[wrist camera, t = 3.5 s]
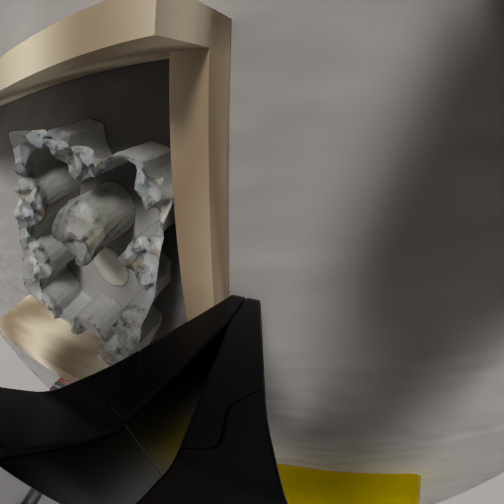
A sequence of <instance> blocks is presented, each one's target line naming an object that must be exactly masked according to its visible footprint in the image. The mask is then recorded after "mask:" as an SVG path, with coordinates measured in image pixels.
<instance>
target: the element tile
mask: <svg viewBox="0 0 504 504" xmlns="http://www.w3.org/2000/svg"><path fill="white" fill-rule="evenodd" d="M277 467H278V471H279V475H280V479H281V483H282V487H283V490H284V494H285V497H286V500H287V502H288V504H419V498H420V483H421V476H419V475H417V474H365V473H347V472H335V471H324V470H316V469H308V468H301V467H294V466H288V465H282V464H277Z"/></svg>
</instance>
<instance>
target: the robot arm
mask: <svg viewBox="0 0 504 504" xmlns="http://www.w3.org/2000/svg"><path fill="white" fill-rule="evenodd" d="M0 504H288V502H287V500H286V497H285V494H284V490H283V487H282V483H281V479H280V475H279V471H278V467H277V462H276V458H275V454H274V449H273V445H272V441H271V436H270V431H269V425H268V420H267V410H266V398H265V380H264V361H263V341H262V322H261V304H260V301H259V300H255V299H250V298H247V299H245V298H244V297H241V296H236V295H231V296H229V297H228V298H226V299H224V300H223V301H221V302H219V303H218V304H216V305H214V306H213V307H211V308H210V309H208V310H206V311H205V312H203V313H201V314H200V315H198V316H196V317H195V318H193V319H191V320H190V321H188V322H186V323H185V324H183V325H181V326H180V327H178V328H176V329H174V330H173V331H171V332H169V333H168V334H166V335H164V336H163V337H161V338H159V339H158V340H156V341H154V342H152V343H151V344H149V345H147V346H146V347H144V348H142V349H141V351H137V352H135V353H133V354H132V355H130V356H128V357H126V358H124V359H123V360H121V361H119V362H117V363H115V364H113V365H111V366H109V367H107V368H105V369H103V370H101V371H98V372H96V373H94V374H92V375H89V376H87V377H85V378H82V379H80V380H78V381H75V382H73V383H70V384H68V385H66V386H63V387H61V388H58V389H55V390H51V391H45V392H33V391H24V390H16V389H9V388H2V387H0Z"/></svg>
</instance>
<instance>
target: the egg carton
mask: <svg viewBox="0 0 504 504" xmlns="http://www.w3.org/2000/svg"><path fill="white" fill-rule="evenodd" d="M104 134H105V132H104V125H103V124H102V123H101V122H97V121H94V120H92V119H86V120H83V121H80V122H74V123H71V124H69V125H65V126H61V127H56V128H52V129H50V130H48V131H47V132H46V130H43V129H41V130H32V131H30V130H23V131H13V132H9V139H10V142H11V145H12V148H13V152H14V157H15V168H14V170H15V172H16V173H17V174H18V175H19V183H18V187H17V188H16V190H15V193H16V194H17V195H18V196H19V197H20V200H19V202H18V204H17V206H16V208H15V210H14V216H15V218H16V219H17V221H18V223H19V230H20V243H21V246H22V248H23V256H24V260H23V280H24V284H25V287H26V289H27V290H28V291H29V293H30V294H31V295H32V296H33V297H34V298H35V299H36V300H37V301H38V302H39V303H40V304H43V305H45V306H46V307H47V308H48V309H49V310H50V311H51V312H52V313H53V317H54V319H57V318H62V319H64V320H65V321H67V322H68V323H69V324H70V325H71V327H72V329H71V332H72V333H73V334H76V335H78V334H82V333H83V332H84V331H86V330H88V331H90V332H91V333H93V334H94V335H96V336H97V337H99V338H101V340H102V342H101V343H100V344H99V345H100V348H99V349H98V351H97V357H98V358H99V360H100V361H101V362H102V363H103V364H105V365H106V366H107V367H109V366H111V365H113V364H115V363H117V362H119V361H121V360H123V359H124V358H126V357H128V356H129V354H130V353H131V352H137V351H141V349H142V348H144V347H146V346H147V345H149V344H150V342H151V341H152V339H153V338H154V336H155V334H156V331H157V330H158V328H159V327H160V325H161V323H162V316H163V314H162V313H161V312H160V311H159V310H157V308H156V307H155V306H154V305H153V304H152V303H153V302H154V301H155V299H156V297H157V296H158V295H159V293H160V292H161V291H163V288H164V287H165V286H166V285H167V284H168V283H169V281H170V279H171V260H170V259H169V258H168V257H167V256H166V255H165V254H164V252H163V251H162V250H161V247H162V243H163V239H164V234H163V231H164V230H166V229H167V228H168V227H169V226H170V225H172V224H174V222H175V212H174V199H173V185H172V168H171V148H169V147H167V146H165V145H162V144H159V143H157V142H154V141H149V142H147V143H143V144H141V145H138V146H135V147H131V148H128V149H126V150H123V151H119V152H117V153H115V154H113V153H112V152H111V150H110V148H109V147H108V145H107V142H106V139H105V135H104ZM127 162H132V163H133V164H135V166H136V169H137V174H136V180H135V187H134V189H135V191H136V192H137V193H138V195H139V196H140V197H141V198H142V201H143V206H144V209H145V210H146V209H149V208H152V207H156V208H158V209H159V210H160V216H159V220H158V221H157V222H156V223H154V224H153V225H151V226H150V227H149V228H147V229H146V230H145V231H143V232H142V233H141V234H139V235H138V236H137V237H135V238H134V239H133V240H132V241H131V242H130V243H129V245H128V246H127V248H126V250H125V251H124V252H123V253H122V254H121V255H119V254H118V253H117V252H116V251H114V250H113V249H111V248H109V247H107V246H108V245H109V244H110V243H112V242H113V241H114V240H116V239H117V238H118V237H120V236H121V235H122V234H123V233H125V232H126V231H127V230H129V229H130V228H131V226H132V225H133V224H134V221H135V216H136V215H135V206H134V203H133V200H132V198H131V196H130V194H129V193H128V191H127V190H126V189H124V188H123V187H122V186H121V185H120V184H119V183H115V182H106V183H104V184H101V185H99V186H97V187H95V188H93V189H91V190H89V191H87V192H85V193H83V194H81V195H80V196H79V193H80V183H83V182H85V181H86V180H88V179H90V178H91V177H93V178H94V177H96V176H97V175H99V174H101V173H103V172H106V171H109V170H111V169H113V168H115V167H118V166H120V165H122V164H125V163H127ZM73 258H75V261H76V264H77V265H79V266H81V267H82V266H85V265H88V264H89V263H90V262H91V261H92V260H94V264H95V267H96V269H97V271H98V272H99V274H100V275H101V276H102V278H103V279H104V280H105V281H107V282H108V283H110V284H112V285H113V286H123V285H124V284H126V283H127V281H128V278H129V277H128V269H127V267H128V268H130V269H132V270H133V271H134V272H135V276H136V278H137V280H138V282H139V284H140V285H141V286H142V287H143V288H142V289H141V290H140V291H139V293H138V294H137V295H136V296H135V297H134V298H133V299H132V301H131V302H130V303H129V304H128V305H127V306H126V307H125V308H124V309H123V310H122V308H121V307H120V306H119V304H118V303H117V302H116V301H115V300H113V299H112V298H111V297H109V296H107V295H104V294H98V295H97V296H96V297H95V298H93V299H91V298H90V297H89V296H88V295H86V294H85V293H84V292H83V291H82V288H81V286H80V284H79V282H78V280H77V278H76V277H75V276H74V274H73V273H72V272H71V271H69V269H68V268H67V263H68V262H69V261H71V260H72V259H73Z"/></svg>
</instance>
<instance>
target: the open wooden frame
mask: <svg viewBox="0 0 504 504" xmlns="http://www.w3.org/2000/svg"><path fill="white" fill-rule="evenodd" d="M230 46H231V19H230V18H229V17H227V16H225V15H223V14H222V13H220V12H218V11H216V10H214V9H212V8H210V7H208V6H207V5H205V4H203V3H201V2H199V1H197V0H105V1H103V2H100V3H98V4H95V5H93V6H91V7H88V8H86V9H84V10H82V11H79V12H77V13H75V14H73V15H71V16H69V17H67V18H65V19H63V20H61V21H59V22H57V23H55V24H53V25H51V26H49V27H48V28H46V29H44V30H42V31H41V32H39V33H37V34H35V35H34V36H32V37H30V38H29V39H27V40H25V41H24V42H22V43H21V44H19V45H18V46H16V47H14V48H13V49H11V50H10V51H8V52H7V53H6V54H4V55H3V56H1V57H0V106H2V105H5V104H7V103H9V102H11V101H14V100H16V99H19V98H21V97H24V96H26V95H29V94H31V93H34V92H37V91H39V90H42V89H45V88H48V87H51V86H54V85H57V84H60V83H63V82H66V81H69V80H73V79H76V78H79V77H83V76H87V75H90V74H94V73H98V72H102V71H106V70H111V69H115V68H120V67H124V66H129V65H135V64H140V63H146V62H152V61H158V60H165V59H169V116H170V147H171V168H172V185H173V199H174V212H175V224H176V235H177V245H178V255H179V264H180V272H181V281H182V289H183V297H184V304H185V311H186V318H187V322H188V321H190V320H191V319H193V318H195V317H196V316H198V315H200V314H201V313H203V312H205V311H206V310H208V309H210V308H211V307H213V306H214V305H216V304H218V303H219V302H221V301H223V300H224V299H226V298H228V297H229V262H228V135H229V80H230ZM71 329H72V327H71V325H70V324H69V323H68V322H67V321H65V320H64V319H62V318H57V319H54V317H53V313H52V312H51V311H50V310H49V309H48V308H47V307H46V306H45V305H43V304H40V303H39V302H38V301H37V300H36V299H35V298H34V297H33V296H32V295H31V294H29V295H27V296H26V297H25V298H24V299H23V300H22V301H20V302H19V303H18V304H17V305H16V306H15V307H14V308H13V309H11V310H10V311H9V312H8V313H7V314H6V315H5V316H4V317H3V318H2V319H1V320H0V330H1V332H2V334H3V335H4V336H5V337H6V338H8V339H9V340H10V341H11V342H13V343H14V344H15V345H16V346H18V347H19V348H20V349H22V350H23V351H24V352H26V353H27V354H28V355H30V356H31V357H33V358H34V359H35V360H37V361H38V362H40V363H41V364H42V365H44V366H45V367H47V368H48V369H50V370H51V371H53V372H54V373H56V374H57V375H59V376H61V377H62V378H64V379H65V380H67V381H68V382H70V383H73V382H75V381H78V380H80V379H82V378H85V377H87V376H89V375H92V374H94V373H96V372H98V371H101V370H103V369H105V368H107V366H106V365H105V364H103V363H102V362H101V361H100V360H99V358H98V357H97V351H98V349H99V348H100V345H99V344H100V343H101V342H102V340H101V338H99V337H97V336H96V335H94V334H93V333H91V332H90V331H88V330H86V331H84V332H83V333H82V334H78V335H76V334H73V333H72V332H71ZM133 353H135V352H131V353H130V354H129V356H130V355H132V354H133Z"/></svg>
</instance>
